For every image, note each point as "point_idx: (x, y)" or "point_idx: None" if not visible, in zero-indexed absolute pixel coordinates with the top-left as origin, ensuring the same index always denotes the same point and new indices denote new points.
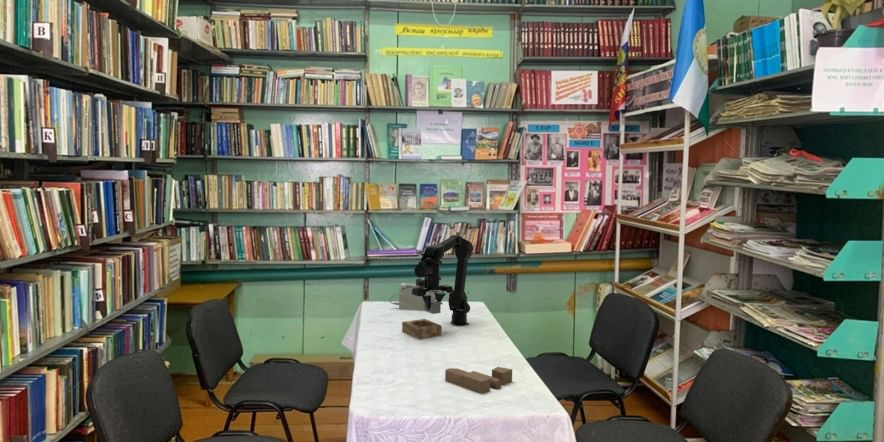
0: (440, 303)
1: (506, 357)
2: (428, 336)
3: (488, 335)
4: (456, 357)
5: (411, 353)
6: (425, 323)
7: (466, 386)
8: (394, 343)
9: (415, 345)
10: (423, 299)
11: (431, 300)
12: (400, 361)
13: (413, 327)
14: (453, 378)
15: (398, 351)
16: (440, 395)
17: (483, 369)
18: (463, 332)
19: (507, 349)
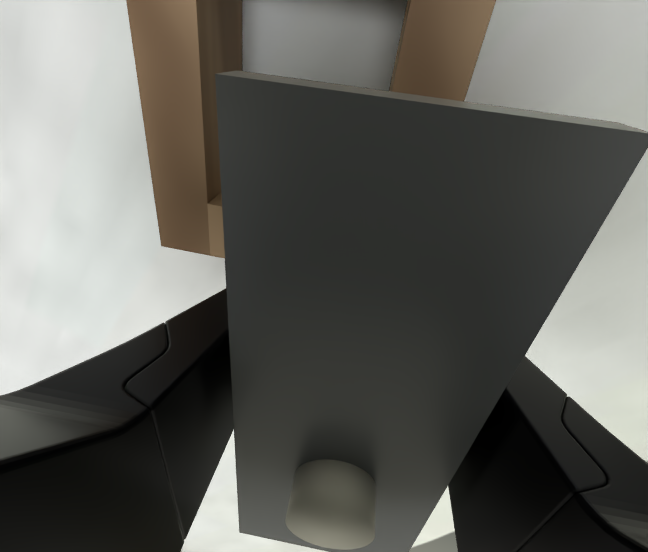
0: (352, 549)
1: None
2: None
3: (628, 418)
4: (220, 464)
5: (72, 351)
6: (399, 52)
7: None
8: (18, 179)
9: (133, 286)
10: (251, 100)
11: (384, 379)
12: (5, 380)
13: (152, 161)
14: None
15: (17, 299)
16: None
17: (228, 533)
18: (603, 292)
19: (448, 525)
